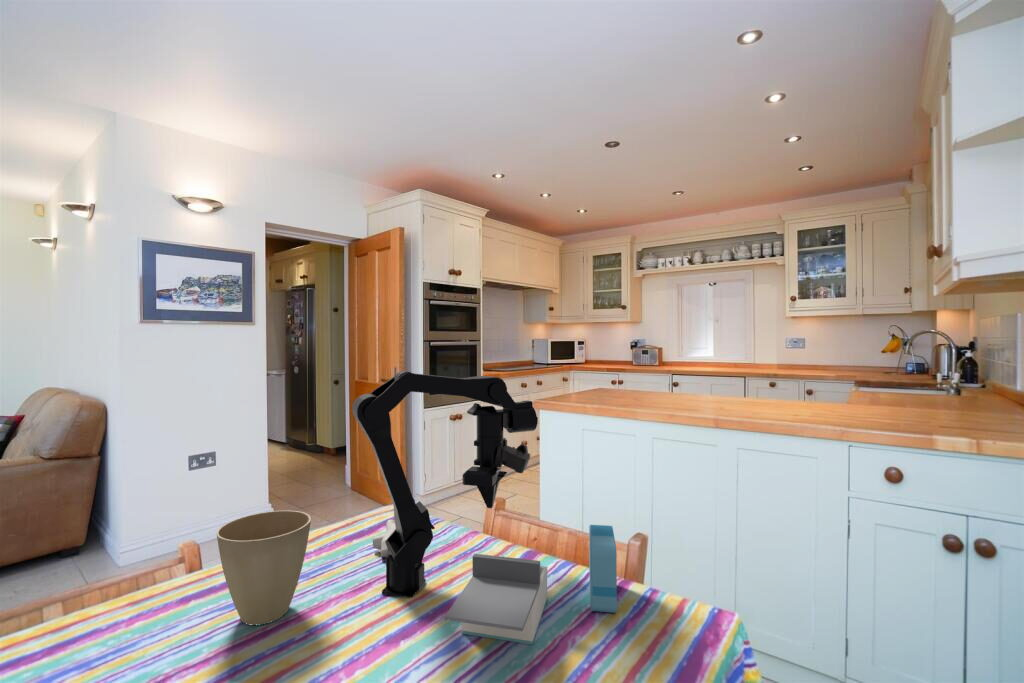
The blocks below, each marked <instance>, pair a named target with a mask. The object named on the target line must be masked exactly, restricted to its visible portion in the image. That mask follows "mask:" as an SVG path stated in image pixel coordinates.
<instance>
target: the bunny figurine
mask: <svg viewBox="0 0 1024 683" xmlns="http://www.w3.org/2000/svg"><path fill="white" fill-rule="evenodd" d="M395 529H396V526H395V520H394V519H388V520H387V521H386V524H385V532H384V533H382V534H379V535H377V536H374V537H373V538H372V548H373V549H376V550H380V557H381V558H387V557H388V556H389V555H390V552H389V551H388V549H387V546H386V544H385V541H386V540H387V539H388V538H389V536H390V535H391V534H392V533H393V532H394V531H395Z"/></svg>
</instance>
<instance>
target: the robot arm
mask: <svg viewBox="0 0 1024 683" xmlns="http://www.w3.org/2000/svg"><path fill="white" fill-rule="evenodd" d="M410 393H423V394H432V395H433V394H434V395H435V394H436V395H446V396H454V397H455V396H456V397H465V398H468V399H472V400H475V401H478V402H482V403H487V404H489V405H483V406H481V404H480V403H477V402H475V403H473V405H472V406H471V407H470V408H469V409H467V411H466V413H467V414H468V415H471V416H473V417H475V416H476V439H475V440H473V446H474V447H476V458H475V459H474V460H473V466H471V467H469V468H468V469H467V470H466V471H465V472H464V473H463V474H462V485H463V486H470V487H471V486H472V487H477V489H478V491H479V493H480V496H481V497H482V499H483V501H484V504H485V506H486V508H487V509H492V508H493V507H494V504H495V500H496V497H497V491H498V487H499V485H500V484H499V483H500V481H501V480H502V479H503V478H504V477H505V476H506V475H507V474H508V471H504V470H502V469H501V468H502V467H504V466H505V467H506V468H509V469H510V470H514V471H515V473H519V474H523V473H524V471H525V470H526V469H527V468H528V464H529V461H530V459H531V453H529V451H528V446H527V445H525V444H523V443H521V444H520V445H519V446H517V447H515V446H509V445H508V439H507V438H506V437H504V429H505V430H506V431H507V433H509V434H511V433H512V434H513V433H523V432H524V433H525V432H535V430H536V429H537V428H538V420H539V418H538V415H537V412H536V410H535V408H534V407H533V406H534V404H533V401H532V400H527V399H526V400H522V401H515V400H514V399H513V398H512V396H511V394H510V393H509V392H508V387H507V384H506V381H504V380H503V378H500V377H496V376H489V375H479V376H469V377H453V376H452V377H450V376H444V375H442V376H440V375H432V374H423V373H422V374H421V373H413V372H411V371H405V370H402V371H398V372H397V373H396V374H395V375H393V377H392V378H390V379H388V380H387V381H386V382H384V383H383V384H380V385H379V386H378V387H377V388H375V389H374V390H372V391H371V392H370V393H364V394H361V395H359V396H357V398H356V399H355V400H354V402H353V404H352V407H351V411H352V414H353V417H354V419H355V420H356V422H357V424H358V425H359V427H360V428H361V430H362V432H363V433H364V435H365V437H366V438H367V439H368V441H369V442H370V444H371V447H372V450H373V452H374V455H375V458H376V461H377V464H378V467H379V469H380V473H381V475H382V477H383V480H384V483H385V486H386V489H387V492H388V494H389V496H390V500H391V502H392V505H393V518H394V519H393V520H395V526H396V529H395V531H394V532H393V533H392V534H391V535H390V536H389V538H388V539H387V540H386V541H385V544H386V546H387V549H388V551H389V552H390V555H389V556H388V557H385V561H386V562H385V563H386V564H385V567H386V568H385V578H386V579H385V585H386V586H384V588H383V589H382V590H381V594H382V595H388V596H394V597H403V598H409V599H411V598H413V597H414V596H415V595H416V594H417V593H418V592H419V591H420V589H421V588H422V587H423V586H424V585H425V584H426V580H427V579H426V578H425V563H424V562H423V559H424V557H425V554H426V550H427V549H428V548H429V546H431V543H432V541H433V540H434V534H433V530H435V529H436V528H435V526H434V525H433V524H432V522H431V518H430V513H429V510H428V508H427V507H426V506H425V505H424V504H423V503H422V502H421V501H417V502H415V500H414V497H413V494H412V492H411V488H410V485H409V482H408V481H407V477H406V475H405V472H404V469H403V466H402V463H401V460H400V457H399V455H398V452H397V449H396V446H395V444H394V441H393V437H392V422H391V416H390V412H391V411H392V410H394V409H395V408H396V407H397V406H399V404H400V403H401V402H402V401H403V400H404V399H405V398H406V397H407V395H409V394H410ZM493 405H494V406H497V407H500V409H496V407H494V406H493Z"/></svg>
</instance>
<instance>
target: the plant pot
mask: <svg viewBox="0 0 1024 683" xmlns="http://www.w3.org/2000/svg"><path fill="white" fill-rule="evenodd" d="M311 522H312V517H311V515H310V514H308V513H306V512H304V511H303V512H302V511H298V510H272V511H271V510H270V511H264V512H259V513H253V514H249V515H245V516H242V517H238V518H236V519H233V520H230V521H228V522H227V523H225V524H224V525H222V526H220V527H219V528H218V530H217V531H216V538H217V545H218V552H219V558H220V563H221V568H222V572H223V575H224V579H225V582H226V585H227V588H228V591H229V594H230V597H231V600H232V602H233V605H234V607H235V610H236V611H237V614H238V616H239V618H240V620H241V622H242V621H243V622H244V623H247V624H252V625H251V626H253V625H256V624H257V625H256V626H259V625H258V624H264V623H268V624H270V623H269V622H271V621H273V622H275V621H274V620H276V619H278V618H279V619H281V618H282V617H284V616H285V615H286V614H287V612H288V611H289V608H290V606H291V603H292V600H293V598H294V594H295V593H296V592H295V591H296V589H297V585H298V583H299V580H300V576H301V573H302V569H303V565H304V562H305V556H306V552H307V547H308V542H309V541H308V540H309V536H310V529H311ZM285 613H286V614H285ZM284 614H285V615H284ZM283 615H284V616H283ZM280 617H281V618H280ZM279 619H278V620H279ZM276 621H277V620H276ZM243 622H242V623H243ZM244 623H243V624H244ZM271 623H272V622H271ZM247 624H246V625H247ZM264 625H265V624H264Z"/></svg>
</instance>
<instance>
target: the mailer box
mask: <svg viewBox="0 0 1024 683" xmlns="http://www.w3.org/2000/svg"><path fill="white" fill-rule="evenodd" d="M547 601H548V566H543V565H540V586H539V589H538V592H537V594H536V597H535V600H534V602H533V605H532V607H531V610H530V613H529V615H528V618H527V621H526V623H525V626H524V629H523V631H517V630H510V629H503V628H497V627H490V626H483V625H477V624H470V623H463V622H461V634H462V635H469V636H476V637H482V638H487V639H488V638H489V639H494V640H501V641H506V642H507V641H508V642H513V643H514V642H515V643H520V644H521V643H522V644H526V645H533V644H534V641H535V638H536V635H537V633H538V630H539V626H540V622H541V619H542V618H543V614H544V610H545V607H546V605H547Z"/></svg>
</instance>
